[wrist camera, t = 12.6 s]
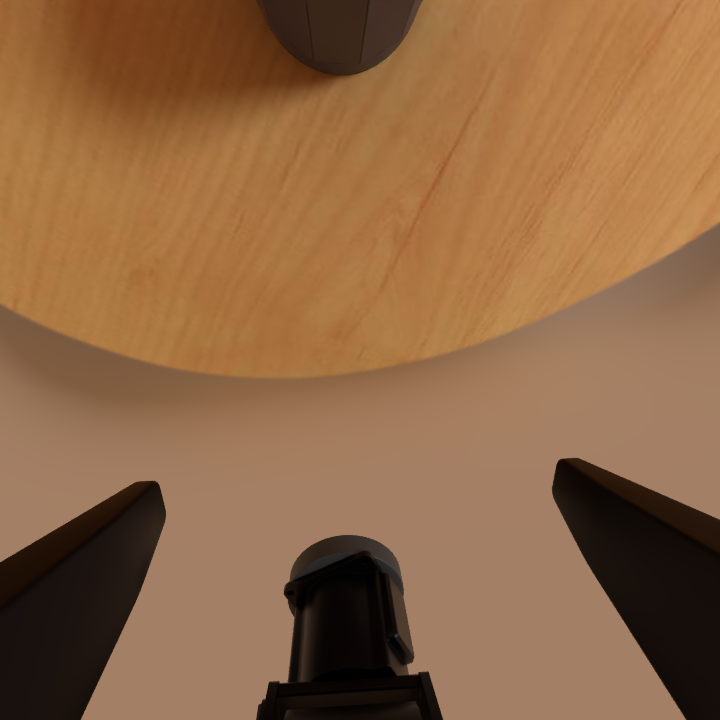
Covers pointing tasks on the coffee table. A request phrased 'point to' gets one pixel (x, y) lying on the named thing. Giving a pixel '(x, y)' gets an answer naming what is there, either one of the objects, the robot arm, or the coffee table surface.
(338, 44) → the pot
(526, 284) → the coffee table surface
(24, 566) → the robot arm
